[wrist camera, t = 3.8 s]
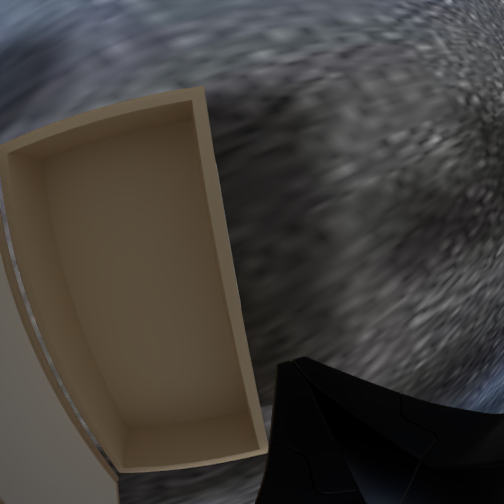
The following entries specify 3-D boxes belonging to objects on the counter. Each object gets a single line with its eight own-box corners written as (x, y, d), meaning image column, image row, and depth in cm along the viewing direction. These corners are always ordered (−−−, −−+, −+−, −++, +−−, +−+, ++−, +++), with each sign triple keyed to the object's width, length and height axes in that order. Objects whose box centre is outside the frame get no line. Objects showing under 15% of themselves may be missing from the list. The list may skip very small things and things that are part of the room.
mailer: (256, 409, 18) (271, 451, 14) (126, 430, 17) (119, 472, 13) (202, 110, 14) (206, 85, 10) (37, 153, 12) (-2, 146, 9)
